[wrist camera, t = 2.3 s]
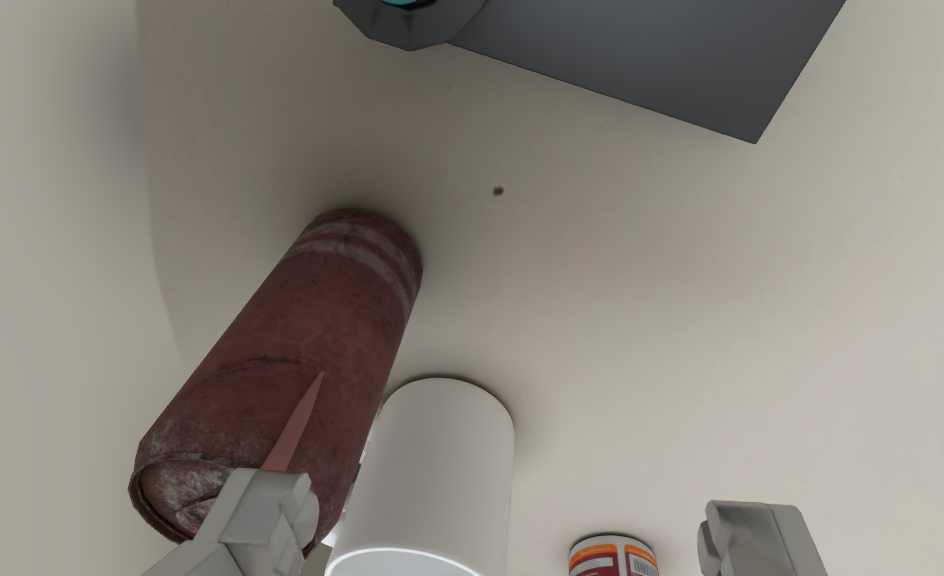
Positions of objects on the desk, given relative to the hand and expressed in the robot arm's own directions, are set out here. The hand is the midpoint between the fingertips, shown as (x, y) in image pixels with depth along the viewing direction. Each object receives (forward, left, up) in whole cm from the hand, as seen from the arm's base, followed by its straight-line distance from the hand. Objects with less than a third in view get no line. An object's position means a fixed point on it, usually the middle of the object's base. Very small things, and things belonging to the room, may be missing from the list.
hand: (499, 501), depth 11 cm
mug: (-5, -15, -15) cm, 22 cm away
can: (-8, -4, -15) cm, 18 cm away
